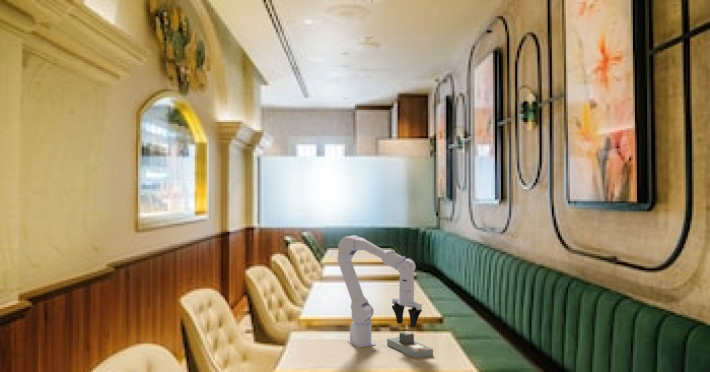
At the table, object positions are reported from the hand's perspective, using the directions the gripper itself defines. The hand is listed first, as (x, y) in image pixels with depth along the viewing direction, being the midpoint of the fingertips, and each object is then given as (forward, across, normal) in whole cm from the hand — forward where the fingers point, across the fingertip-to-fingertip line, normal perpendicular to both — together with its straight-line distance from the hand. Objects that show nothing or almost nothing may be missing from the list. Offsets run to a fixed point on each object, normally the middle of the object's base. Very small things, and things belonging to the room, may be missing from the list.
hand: (406, 325), depth 208 cm
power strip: (+9, +2, 0) cm, 10 cm away
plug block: (+9, 0, 0) cm, 9 cm away
